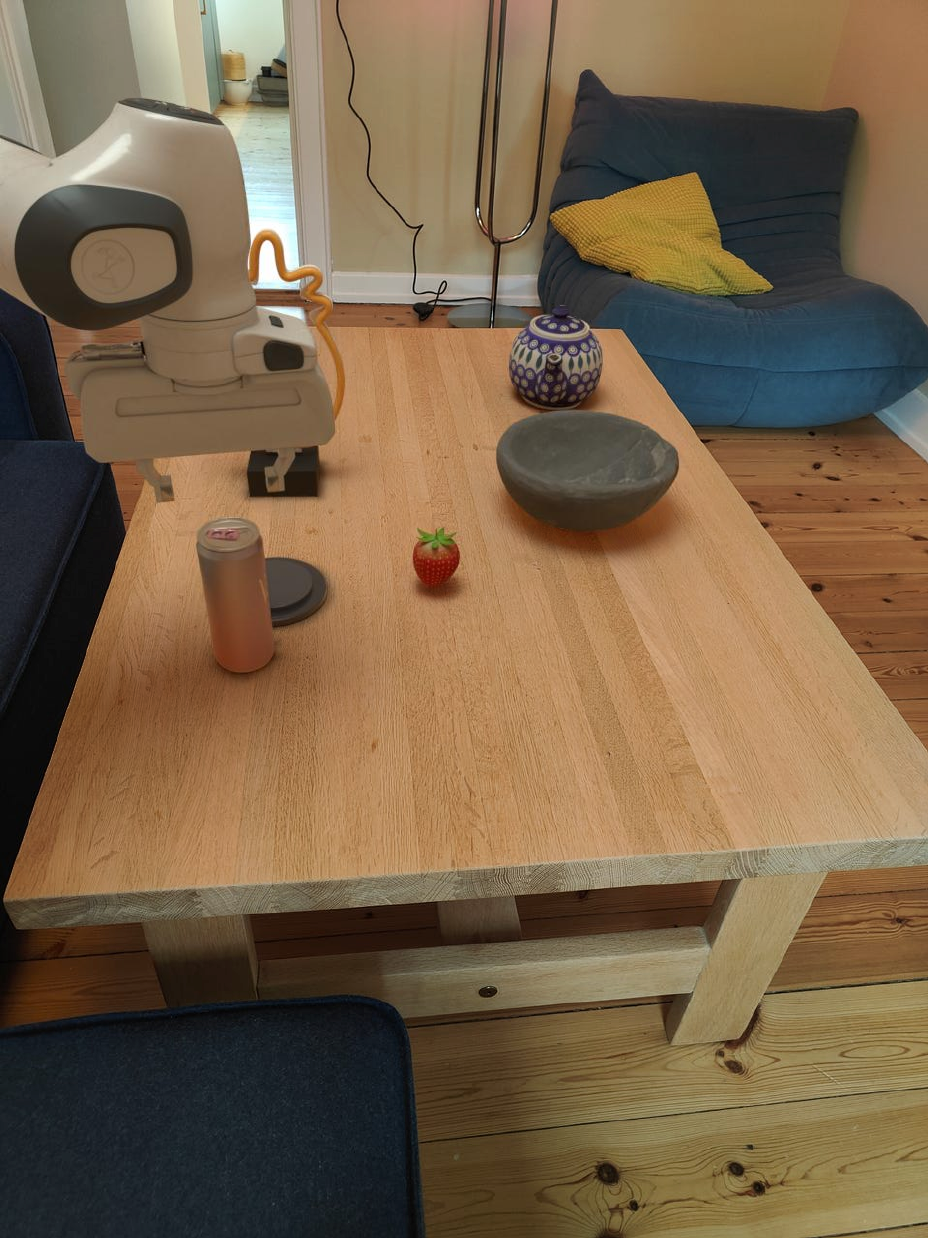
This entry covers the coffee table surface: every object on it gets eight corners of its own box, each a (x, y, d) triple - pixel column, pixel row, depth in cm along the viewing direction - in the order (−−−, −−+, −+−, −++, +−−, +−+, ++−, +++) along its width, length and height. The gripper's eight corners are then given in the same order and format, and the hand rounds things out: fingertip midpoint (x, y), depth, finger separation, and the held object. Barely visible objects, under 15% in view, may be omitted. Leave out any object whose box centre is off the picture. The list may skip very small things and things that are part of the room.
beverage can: (220, 637, 90) (200, 514, 80) (278, 637, 90) (265, 515, 81) (210, 675, 85) (188, 550, 76) (271, 675, 86) (257, 551, 76)
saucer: (222, 634, 90) (221, 624, 89) (213, 569, 99) (211, 560, 98) (335, 617, 93) (335, 607, 92) (317, 556, 102) (316, 547, 101)
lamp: (218, 496, 111) (181, 239, 92) (226, 463, 118) (193, 218, 99) (348, 496, 113) (339, 244, 94) (348, 463, 120) (340, 222, 100)
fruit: (432, 568, 102) (434, 510, 97) (466, 586, 99) (470, 527, 94) (401, 587, 98) (402, 528, 93) (436, 606, 96) (438, 547, 91)
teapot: (517, 363, 152) (526, 277, 143) (602, 374, 150) (615, 288, 141) (493, 423, 132) (501, 328, 123) (590, 437, 131) (605, 341, 121)
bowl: (567, 453, 126) (577, 389, 120) (696, 516, 114) (714, 448, 108) (455, 504, 113) (459, 435, 107) (587, 582, 101) (600, 509, 95)
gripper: (56, 361, 62) (94, 524, 70) (336, 347, 68) (341, 500, 76) (60, 330, 67) (96, 487, 75) (322, 320, 72) (328, 466, 81)
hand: (221, 493), depth 76 cm, fingers open, 8 cm apart
